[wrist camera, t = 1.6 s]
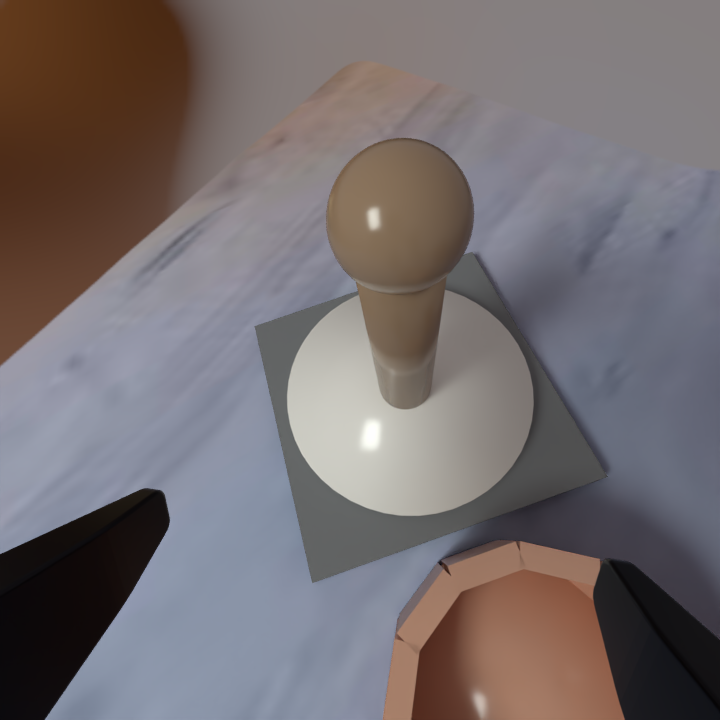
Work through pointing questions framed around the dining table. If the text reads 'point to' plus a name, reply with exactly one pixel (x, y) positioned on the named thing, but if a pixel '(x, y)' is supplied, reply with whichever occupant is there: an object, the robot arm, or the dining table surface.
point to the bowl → (503, 640)
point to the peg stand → (407, 347)
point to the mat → (396, 533)
